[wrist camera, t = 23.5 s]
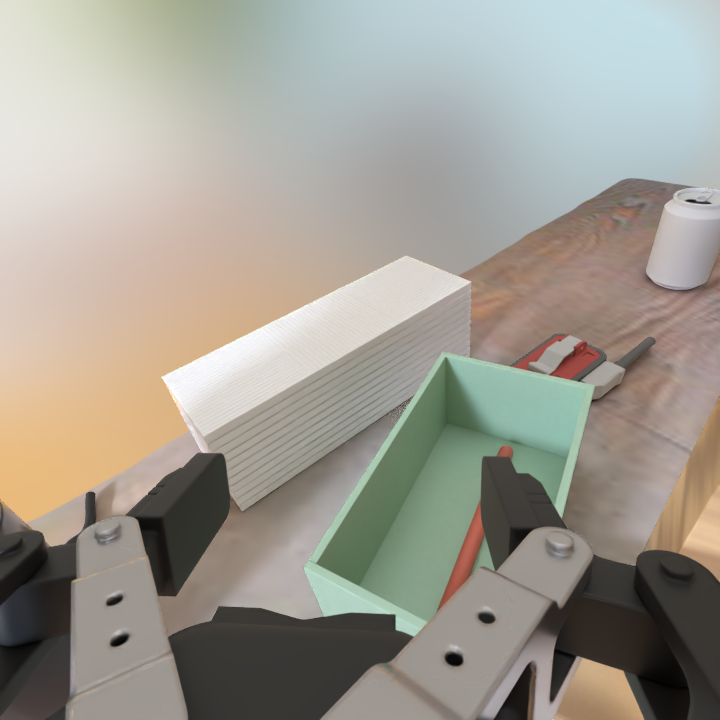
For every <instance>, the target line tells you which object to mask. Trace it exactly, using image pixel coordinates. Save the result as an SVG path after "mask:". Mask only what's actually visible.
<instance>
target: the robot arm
mask: <svg viewBox="0 0 720 720" xmlns="http://www.w3.org/2000/svg"><path fill="white" fill-rule="evenodd" d="M85 508H86V517H85V524H84V527H83V529H82V531H81V532H80V533H79V534H78V535H76V536H75V537H73V538H72V539H70V540H69V541H68V542H67V543H66V544H65V545H59V546H53V547H50V546H49V545H48V544H47V543H46V542H45V540H44V536H43V534H42V533H41V532H39V531H35V530H32V529H31V528H30V527H29V526H28V525H27V524H26V523H25V522H24V521H22V520H21V519H20V518H19V517H18V516H17V515H16V514H15V513H14V512H13V511H12V510H11V509H10V508H9V507H8V506H7V505H6V504H5V503H3V502H2V501H1V500H0V720H553V718H554V716H555V714H556V712H557V710H558V708H559V706H560V704H561V702H562V699H563V697H564V695H565V693H566V691H567V689H568V687H569V685H570V683H571V681H572V679H573V677H574V675H575V673H576V671H577V669H578V667H579V665H580V663H581V661H582V658H585V659H588V660H591V661H594V662H597V663H600V664H603V665H607V666H610V667H613V668H616V669H619V670H622V671H624V674H625V676H626V679H627V681H628V683H629V685H630V688H631V690H632V692H633V694H634V697H635V699H636V701H637V704H638V706H639V708H640V710H641V713H642V715H643V717H644V720H720V582H719V581H718V580H717V578H716V577H715V576H714V575H713V574H712V573H711V572H710V571H709V570H708V569H707V568H706V567H704V566H703V565H702V564H700V563H698V562H697V561H695V560H693V559H691V558H689V557H687V556H684V555H681V554H678V553H675V552H671V551H665V550H648V551H645V552H643V553H641V554H640V555H639V556H638V557H637V562H636V566H631V565H627V564H623V563H618V562H614V561H610V560H606V559H603V558H601V557H598V556H596V555H594V551H593V548H592V546H591V545H590V544H589V542H588V541H587V540H586V539H584V538H583V537H582V536H580V535H578V534H576V533H574V532H572V531H570V530H568V529H567V528H566V526H565V524H564V522H563V521H562V519H561V517H560V515H559V513H558V512H557V510H556V508H555V506H554V505H553V504H552V501H551V499H550V498H549V496H548V495H547V492H546V490H545V489H544V487H543V485H542V483H541V482H540V481H538V480H537V479H536V478H534V477H533V476H532V475H530V474H529V473H517V472H516V470H515V468H514V466H513V464H512V462H511V460H510V458H509V456H483V458H482V471H481V501H480V508H481V520H482V526H483V529H484V533H485V537H486V540H487V544H488V548H489V551H490V555H491V559H492V563H493V566H494V570H495V571H493V570H491V569H489V568H487V567H485V566H482V567H480V568H478V569H477V570H476V571H475V572H474V573H473V574H472V575H471V576H470V577H469V578H468V580H467V581H466V582H465V583H464V584H463V585H462V586H461V587H460V588H459V589H458V590H457V591H456V592H455V594H454V595H453V596H452V597H451V598H450V599H449V600H448V601H447V602H446V603H445V604H444V605H443V606H442V607H441V609H440V610H439V611H438V612H437V613H436V614H435V615H434V616H433V617H432V618H431V619H430V620H429V621H428V623H427V624H426V625H425V626H424V627H423V628H422V629H421V630H420V631H419V632H418V633H417V634H416V635H415V636H412V635H409V634H407V633H405V632H402V631H398V630H396V614H375V613H353V612H350V613H344V614H338V615H332V616H326V617H319V618H313V619H306V620H301V619H297V618H293V617H290V616H286V615H283V614H279V613H276V612H272V611H269V610H265V609H262V608H244V607H222V606H219V607H218V609H217V611H216V613H215V615H214V617H213V619H212V621H209V622H205V623H201V624H197V625H194V626H191V627H188V628H186V629H183V630H181V631H179V632H177V633H174V634H173V635H171V636H169V637H168V635H167V631H166V627H165V623H164V619H163V615H162V611H161V607H160V603H159V599H158V596H176V595H177V594H178V592H179V591H180V589H181V587H182V586H183V584H184V583H185V581H186V580H187V578H188V577H189V575H190V574H191V572H192V570H193V569H194V567H195V566H196V564H197V563H198V561H199V560H200V558H201V557H202V555H203V553H204V552H205V550H206V549H207V547H208V546H209V544H210V543H211V541H212V540H213V538H214V537H215V535H216V533H217V532H218V530H219V529H220V527H221V526H222V524H223V523H224V521H225V520H226V518H227V516H228V513H229V508H230V492H229V484H228V476H227V468H226V460H225V457H224V455H223V454H222V453H197V454H196V455H195V456H194V457H193V458H192V459H191V460H190V461H189V462H188V463H187V464H186V465H185V466H184V467H183V468H179V469H178V470H176V471H174V472H172V473H170V474H168V475H167V476H165V477H164V478H163V479H162V480H161V481H160V482H159V483H158V484H157V485H156V487H154V488H153V489H152V490H151V491H150V492H149V493H148V495H146V496H145V497H144V498H143V499H142V500H141V501H140V502H139V503H138V504H137V505H136V506H134V507H133V508H132V509H131V510H130V511H129V512H128V513H127V514H126V515H125V516H117V517H111V518H107V519H104V520H101V521H99V522H97V523H95V493H94V492H88V493H86V500H85ZM94 523H95V524H94Z"/></svg>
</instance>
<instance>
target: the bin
mask: <svg viewBox="0 0 720 720" xmlns="http://www.w3.org/2000/svg"><path fill="white" fill-rule="evenodd" d="M594 388H595V385H591V384H586V383H582V382H577V381H573V380H568V379H564V378H559V377H555V376H550V375H546V374H541V373H537V372H532V371H528V370H523V369H519V368H514V367H510V366H505V365H501V364H496V363H492V362H487V361H483V360H478V359H474V358H469V357H465V356H460V355H456V354H451V353H447V352H442V353H441V355H440V356H439V358H438V359H437V361H436V362H435V364H434V366H433V367H432V369H431V370H430V372H429V373H428V375H427V376H426V378H425V379H424V381H423V383H422V384H421V386H420V387H419V389H418V390H417V392H416V393H415V395H414V397H413V398H412V400H411V401H410V403H409V404H408V406H407V407H406V409H405V411H404V412H403V414H402V415H401V417H400V418H399V420H398V421H397V423H396V425H395V426H394V428H393V429H392V431H391V432H390V434H389V435H388V437H387V439H386V440H385V442H384V443H383V445H382V446H381V448H380V449H379V451H378V453H377V454H376V456H375V457H374V459H373V460H372V462H371V463H370V465H369V467H368V468H367V470H366V471H365V473H364V474H363V476H362V477H361V479H360V481H359V482H358V484H357V485H356V487H355V488H354V490H353V491H352V493H351V495H350V496H349V498H348V499H347V501H346V502H345V504H344V505H343V507H342V509H341V510H340V512H339V513H338V515H337V516H336V518H335V519H334V521H333V523H332V524H331V526H330V527H329V529H328V530H327V532H326V533H325V535H324V537H323V538H322V540H321V541H320V543H319V544H318V546H317V547H316V549H315V551H314V552H313V554H312V555H311V557H310V558H309V560H308V562H307V563H306V565H305V566H304V570H305V572H306V575H307V577H308V580H309V582H310V584H311V587H312V589H313V591H314V594H315V596H316V599H317V601H318V603H319V606H320V608H321V611H322V613H323V615H324V617H326V616H332V615H338V614H344V613H350V612H353V613H375V614H396V630H398V631H402V632H405V633H407V634H409V635H412V636H415V635H416V634H417V633H418V632H419V631H420V630H421V629H422V628H423V627H424V626H425V625H426V624H427V623H428V621H429V620H430V619H431V618H432V617H433V616H434V615H435V614H436V612H437V610H438V607H439V604H440V602H441V599H442V597H443V594H444V591H445V589H446V586H447V584H448V581H449V578H450V576H451V573H452V571H453V568H454V566H455V563H456V560H457V558H458V555H459V553H460V550H461V547H462V545H463V542H464V540H465V537H466V534H467V532H468V529H469V527H470V524H471V522H472V519H473V516H474V514H475V511H476V509H477V506H478V503H479V501H480V498H481V471H482V458H483V456H497V454H498V452H499V449H500V448H501V447H502V446H505V445H507V446H510V447H511V448H512V450H513V456H512V459H511V462H512V464H513V466H514V468H515V470H516V472H517V473H529V474H530V475H532V476H533V477H534V478H536V479H537V480H538V481H540V482H541V483H542V485H543V487H544V489H545V490H546V492H547V495H548V496H549V498H550V499H551V501H552V504H553V505H554V506H555V508H556V510H557V512H558V513H559V515H560V517H561V519H562V517H563V513H564V509H565V505H566V501H567V497H568V493H569V489H570V485H571V481H572V477H573V473H574V469H575V465H576V461H577V457H578V453H579V449H580V445H581V441H582V437H583V433H584V429H585V425H586V421H587V417H588V413H589V409H590V405H591V401H592V397H593V393H594ZM482 566H485V567H487V568H489V569H491V570H493V571H495V570H494V566H493V563H492V559H491V555H490V551H489V548H488V544H487V540H486V537H485V535H484V537H483V540H482V543H481V546H480V549H479V552H478V554H477V557H476V560H475V563H474V566H473V568H472V571H471V574H470V576H471V575H472V574H473V573H474V572H475V571H476V570H477V569H478V568H480V567H482Z"/></svg>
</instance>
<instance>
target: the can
mask: <svg viewBox="0 0 720 720" xmlns="http://www.w3.org/2000/svg"><path fill="white" fill-rule="evenodd" d="M673 197H674V198H673V199H672V200H670V201H669V202H667V203H666V205H665V206H664V210H663V213H662V216H661V220H660V223H659V227H658V230H657V234H656V237H655V241H654V244H653V248H652V251H651V255H650V258H649V261H648V265H647V268H646V274H647V275H648V276H649V277H650V278H651V280H652V281H653V282H654V283H656V284H657V285H659V286H662V287H665V288H669V289H675V290H688V289H692V288H695V287H697V286H700V285H702V284H704V283H706V282H707V281H708V279H709V277H710V274H711V272H712V269H713V266H714V264H715V261H716V259H717V256H718V254H719V251H720V190H718V189H713V188H687V189H683V190H680V191H677V192H676V193H675V194H674V195H673Z"/></svg>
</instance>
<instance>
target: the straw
mask: <svg viewBox="0 0 720 720" xmlns="http://www.w3.org/2000/svg"><path fill="white" fill-rule="evenodd" d="M497 456H509V458H510V460H511V459H512V456H513V450H512V448H511V447H510V446H507V445H505V446H502V447H501V448H500V449H499V452H498V454H497ZM480 501H481V498H480ZM480 501H479V503H478V506H477V509H476V511H475V514H474V516H473V519H472V522H471V524H470V527H469V529H468V532H467V534H466V537H465V540H464V542H463V545H462V547H461V550H460V553H459V555H458V558H457V560H456V563H455V566H454V568H453V571H452V573H451V576H450V578H449V581H448V584H447V586H446V589H445V591H444V594H443V597H442V599H441V602H440V604H439V607H438V610H437V612H438V611H439V610H440V609H441V607H442V606H443V605H444V604H445V603H446V602H447V601H448V600H449V599H450V598H451V597H452V596H453V595H454V594H455V592H456V591H457V590H458V589H459V588H460V587H461V586H462V585H463V584H464V583H465V582H466V581H467V580H468V578H469V577H470V574H471V571H472V568H473V566H474V563H475V560H476V557H477V554H478V552H479V549H480V546H481V543H482V540H483V537H484V535H485V533H484V529H483V526H482V520H481V508H480ZM437 612H436V613H437Z"/></svg>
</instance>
